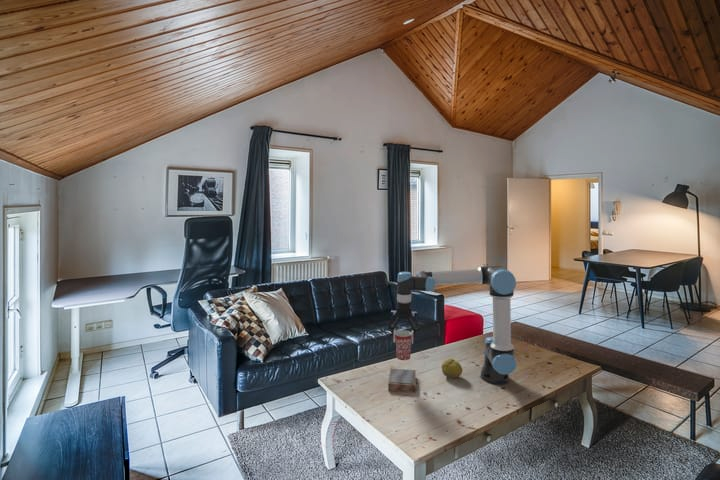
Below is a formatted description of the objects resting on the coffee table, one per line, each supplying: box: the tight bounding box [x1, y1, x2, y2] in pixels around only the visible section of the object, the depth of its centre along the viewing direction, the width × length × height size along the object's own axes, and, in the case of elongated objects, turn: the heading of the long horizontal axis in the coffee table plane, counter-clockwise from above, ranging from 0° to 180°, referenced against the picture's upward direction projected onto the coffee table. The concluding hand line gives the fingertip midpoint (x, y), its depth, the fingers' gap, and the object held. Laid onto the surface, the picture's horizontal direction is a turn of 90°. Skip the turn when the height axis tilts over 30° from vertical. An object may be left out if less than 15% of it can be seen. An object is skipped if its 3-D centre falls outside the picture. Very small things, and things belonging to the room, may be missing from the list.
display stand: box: [387, 368, 416, 394], centre depth 208 cm, size 14×18×4 cm
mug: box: [395, 330, 412, 361], centre depth 206 cm, size 13×9×14 cm
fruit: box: [441, 358, 463, 379], centre depth 216 cm, size 11×12×10 cm
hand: (403, 342), depth 206 cm, fingers closed on mug, 9 cm apart
